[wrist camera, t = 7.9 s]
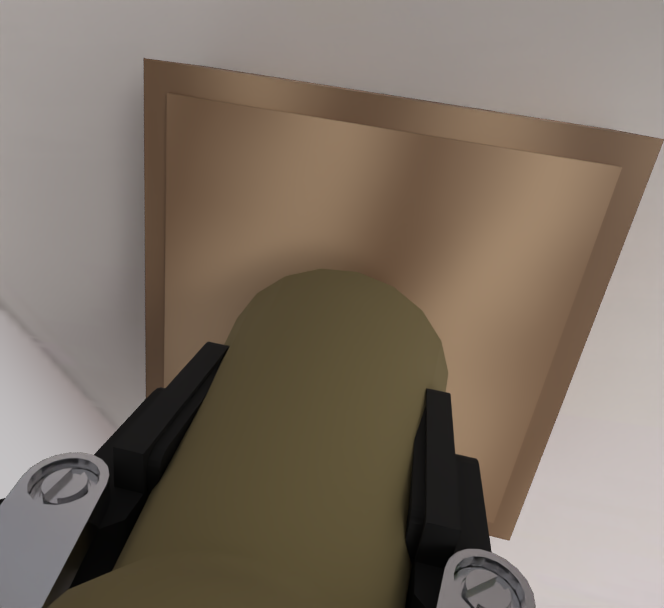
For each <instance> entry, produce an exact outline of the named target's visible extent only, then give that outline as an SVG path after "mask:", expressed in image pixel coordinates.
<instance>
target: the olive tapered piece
mask: <svg viewBox="0 0 664 608" xmlns="http://www.w3.org/2000/svg"><path fill="white" fill-rule="evenodd" d="M224 345H227V346H230V347H229V348H228V350H227V352H226V354H225V355H224V357H223V359H222V362H221V364H220V366H219V368H218V371H217V373H216V375H215V377H214V379H213V382H212V384H211V386H210V388H209V390H208V393H207V395H206V397H205V398H204V400H203V402H202V404H201V406H200V408H199V409H198V411H197V413H196V415H195V417H194V419H193V420H192V422H191V424H190V426H189V428H188V430H187V431H186V433H185V435H184V437H183V439H182V441H181V442H180V444H179V446H178V448H177V450H176V452H175V454H174V455H173V457H172V459H171V461H170V463H169V465H168V466H167V468H166V470H165V472H164V474H163V476H162V477H161V479H160V481H159V482H158V484H157V485H156V486H155V487H154V488H153V489H152V491H151V493H150V495H149V497H148V499H147V501H146V503H145V505H144V507H143V509H142V511H141V513H140V515H139V517H138V519H137V521H136V523H135V525H134V527H133V530H132V532H131V534H130V536H129V538H128V540H127V542H126V544H125V546H124V548H123V550H122V552H121V554H120V556H119V558H118V560H117V562H116V564H115V566H114V568H113V570H112V571H111V572H109V573H106V574H104V575H102V576H99V577H97V578H94V579H92V580H90V581H87V582H85V583H83V584H80V585H78V586H75V587H73V588H71V589H68V590H67V591H66V592H64V593H63V594H62V595H61V596H60V597H59V598H58V599H56V600H55V601H54V602H53V603H52V604H51V605H50V606H48V607H47V608H405V606H406V600H407V594H408V588H409V582H410V575H411V569H412V564H411V560H410V557H409V553H408V550H407V546H406V543H405V537H406V527H407V517H408V507H409V497H410V486H411V474H412V462H413V450H414V439H415V436H416V433H417V430H418V427H419V424H420V421H421V418H422V415H423V412H424V409H425V406H426V390H427V388H428V389H433V390H438V391H443V392H446V387H447V380H448V369H447V364H446V360H445V355H444V351H443V346H442V342H441V339H440V338H439V336H438V335H437V333H436V331H435V330H434V328H433V327H432V325H431V324H430V322H429V320H428V319H427V317H426V316H425V314H424V312H423V311H422V310H421V309H420V308H419V307H417V306H416V305H415V304H414V303H413V302H411V301H410V300H409V299H408V298H407V297H405V296H404V295H403V294H402V293H401V292H399V291H398V290H397V289H396V288H394V287H393V286H391V285H388V284H386V283H383V282H381V281H379V280H376V279H374V278H371V277H369V276H366V275H364V274H362V273H359V272H352V271H342V270H331V269H316V270H311V271H307V272H302V273H297V274H293V275H288V276H285V277H283V278H281V279H280V280H278V281H276V282H275V283H273V284H272V285H270V286H268V287H267V288H265V289H263V290H262V291H260V292H258V293H257V294H256V295H255V296H254V298H253V299H252V300H251V301H250V303H249V304H248V305H247V306H246V308H245V309H244V310H243V311H242V313H241V314H240V315H239V316H238V318H237V319H236V321H235V323H234V325H233V327H232V329H231V331H230V333H229V336H228V338H227V340H226V342H225V344H224Z"/></svg>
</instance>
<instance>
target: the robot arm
mask: <svg viewBox="0 0 664 608" xmlns="http://www.w3.org/2000/svg"><path fill="white" fill-rule="evenodd" d="M229 347H230V346H227V345H223V344H218V343H213V342H207V343H205V345H204V346H203V347H202V348H201V349H200V350H199V351H198V352H197V353H196V355H195V356H194V357H193V358H192V359H191V360H190V361H189V362H188V363H187V365H186V366H185V367H184V368H183V369H182V370H181V371H180V372H179V374H178V375H177V376H176V377H175V378H174V379H173V380H172V381H171V382H170V384H169V385H168V386H167V387H166V388H162V387H160V388H157V389H155V390H154V391H153V392H152V393H151V394H150V395H149V396H148V397H147V398H146V399H145V401H144V402H143V403H142V404H141V405H140V406H139V407H138V408H137V409H136V410H135V411H134V412H133V413H132V415H131V416H130V417H129V418H128V419H127V420H126V421H125V422H124V423H123V424H122V425H121V426H120V427H119V429H118V430H117V431H116V432H115V433H114V434H113V435H112V436H111V437H110V438H109V439H108V440H107V442H106V443H105V444H104V445H103V446H102V447H101V448H100V449H99V450H98V451H97V452H96V453H95V454H94V455H91V454H87V453H65V454H60V455H55V456H53V457H50V458H47V459H44V460H42V461H40V462H39V463H37V464H36V465H34V466H32V467H31V468H30V469H29V470H28V471H27V472H26V473H25V474H24V475H23V476H22V477H21V478H20V480H19V481H18V482H17V484H16V485H15V486H14V488H13V489H12V490H11V492H10V493H9V495H8V496H7V497H6V498H4V499H0V608H47V607H48V606H50V605H51V604H52V603H53V602H54V601H55V600H56V599H58V598H59V597H60V596H61V595H62V594H63V593H64V592H66V591H67V590H68V589H71V588H73V587H75V586H78V585H80V584H83V583H85V582H87V581H90V580H92V579H94V578H97V577H99V576H102V575H104V574H106V573H109V572H111V571H112V570H113V568H114V566H115V564H116V562H117V560H118V558H119V556H120V554H121V552H122V550H123V548H124V546H125V544H126V542H127V540H128V538H129V536H130V534H131V532H132V530H133V527H134V525H135V523H136V521H137V519H138V517H139V515H140V513H141V511H142V509H143V507H144V505H145V503H146V501H147V499H148V497H149V495H150V493H151V491H152V489H153V488H154V487H155V486H156V485H157V484H158V482H159V481H160V479H161V477H162V476H163V474H164V472H165V470H166V468H167V466H168V465H169V463H170V461H171V459H172V457H173V455H174V454H175V452H176V450H177V448H178V446H179V444H180V442H181V441H182V439H183V437H184V435H185V433H186V431H187V430H188V428H189V426H190V424H191V422H192V420H193V419H194V417H195V415H196V413H197V411H198V409H199V408H200V406H201V404H202V402H203V400H204V398H205V397H206V395H207V393H208V390H209V388H210V386H211V384H212V382H213V379H214V377H215V375H216V373H217V371H218V368H219V366H220V364H221V362H222V359H223V357H224V355H225V354H226V352H227V350H228V348H229ZM405 543H406V546H407V550H408V553H409V557H410V560H411V564H412V569H411V575H410V582H409V588H408V594H407V600H406V606H405V608H536V605H535V599H534V593H533V591H532V589H531V587H530V585H529V583H528V581H527V580H526V578H525V577H524V576H523V575H522V574H521V572H520V571H519V570H518V569H517V568H516V567H515V566H513V565H512V564H511V563H510V562H508V561H507V560H506V559H504V558H502V557H500V556H498V555H496V554H494V553H492V552H491V545H490V538H489V531H488V524H487V517H486V510H485V502H484V495H483V488H482V481H481V474H480V467H479V462H478V460H477V459H476V458H472V457H468V456H463V455H459V454H455V444H454V431H453V418H452V405H451V394H450V393H447V392H443V391H438V390H433V389H428V388H427V390H426V406H425V409H424V412H423V415H422V418H421V421H420V424H419V427H418V430H417V433H416V436H415V439H414V450H413V462H412V474H411V486H410V497H409V507H408V517H407V527H406V537H405Z"/></svg>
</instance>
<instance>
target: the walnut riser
mask: <svg viewBox="0 0 664 608" xmlns="http://www.w3.org/2000/svg"><path fill="white" fill-rule="evenodd" d="M663 141H664V139H659V138H654V137H649V136H643V135H638V134H633V133H627V132H622V131H617V130H611V129H605V128H598V127H592V126H585V125H579V124H572V123H566V122H560V121H553V120H547V119H540V118H534V117H527V116H521V115H515V114H508V113H502V112H495V111H489V110H482V109H476V108H470V107H463V106H457V105H450V104H444V103H437V102H431V101H425V100H418V99H412V98H405V97H399V96H392V95H386V94H380V93H373V92H367V91H360V90H354V89H347V88H341V87H335V86H328V85H322V84H315V83H309V82H302V81H296V80H290V79H283V78H277V77H270V76H264V75H257V74H251V73H244V72H238V71H232V70H225V69H219V68H212V67H206V66H199V65H191V64H184V63H176V62H168V61H161V60H153V59H145V58H144V180H145V330H146V398H147V397H148V396H149V395H150V394H151V393H152V392H153V391H154V390H155V389H157V388H160V387H162V388H166V387H167V386H168V385H169V384H170V382H171V381H172V380H173V379H174V378H175V377H176V376H177V375H178V374H179V372H180V371H181V370H182V369H183V368H184V367H185V366H186V365H187V363H188V362H189V361H190V360H191V359H192V358H193V357H194V356H195V355H196V353H197V352H198V351H199V350H200V349H201V348H202V347H203V346H204V345H205V343H207V342H213V343H218V344H223V345H224V344H225V342H226V340H227V338H228V336H229V333H230V331H231V329H232V327H233V325H234V323H235V321H236V319H237V318H238V316H239V315H240V314H241V313H242V311H243V310H244V309H245V308H246V306H247V305H248V304H249V303H250V301H251V300H252V299H253V298H254V296H255V295H256V294H257V293H258V292H260V291H262V290H263V289H265V288H267V287H268V286H270V285H272V284H273V283H275V282H276V281H278V280H280V279H281V278H283V277H285V276H288V275H293V274H297V273H302V272H307V271H311V270H316V269H331V270H342V271H352V272H359V273H362V274H364V275H366V276H369V277H371V278H374V279H376V280H379V281H381V282H383V283H386V284H388V285H391V286H393V287H394V288H396V289H397V290H398V291H399V292H401V293H402V294H403V295H404V296H405V297H407V298H408V299H409V300H410V301H411V302H413V303H414V304H415V305H416V306H417V307H419V308H420V309H421V310H422V311H423V312H424V314H425V316H426V317H427V319H428V320H429V322H430V324H431V325H432V327H433V328H434V330H435V331H436V333H437V335H438V336H439V338H440V339H441V342H442V346H443V351H444V355H445V360H446V364H447V369H448V380H447V387H446V392H447V393H450V394H451V405H452V418H453V431H454V444H455V454H459V455H463V456H468V457H472V458H476V459H477V460H478V462H479V467H480V474H481V481H482V488H483V495H484V502H485V510H486V517H487V524H488V531H489V536H493V537H497V538H501V539H505V540H510V537H511V535H512V532H513V530H514V527H515V525H516V522H517V519H518V517H519V514H520V512H521V509H522V506H523V504H524V501H525V499H526V496H527V493H528V491H529V488H530V486H531V483H532V480H533V478H534V475H535V473H536V470H537V467H538V465H539V462H540V460H541V457H542V455H543V452H544V449H545V447H546V444H547V442H548V439H549V436H550V434H551V431H552V429H553V426H554V423H555V421H556V418H557V416H558V413H559V410H560V408H561V405H562V403H563V400H564V398H565V395H566V392H567V390H568V387H569V385H570V382H571V379H572V377H573V374H574V372H575V369H576V366H577V364H578V361H579V359H580V356H581V353H582V351H583V348H584V346H585V343H586V341H587V338H588V335H589V333H590V330H591V328H592V325H593V322H594V320H595V317H596V315H597V312H598V309H599V307H600V304H601V302H602V299H603V296H604V294H605V291H606V289H607V286H608V283H609V281H610V278H611V276H612V273H613V271H614V268H615V265H616V263H617V260H618V258H619V255H620V252H621V250H622V247H623V245H624V242H625V239H626V237H627V234H628V232H629V229H630V226H631V224H632V221H633V219H634V216H635V214H636V211H637V208H638V206H639V203H640V201H641V198H642V195H643V193H644V190H645V188H646V185H647V182H648V180H649V177H650V175H651V172H652V169H653V167H654V164H655V162H656V159H657V156H658V154H659V151H660V149H661V146H662V144H663Z"/></svg>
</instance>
